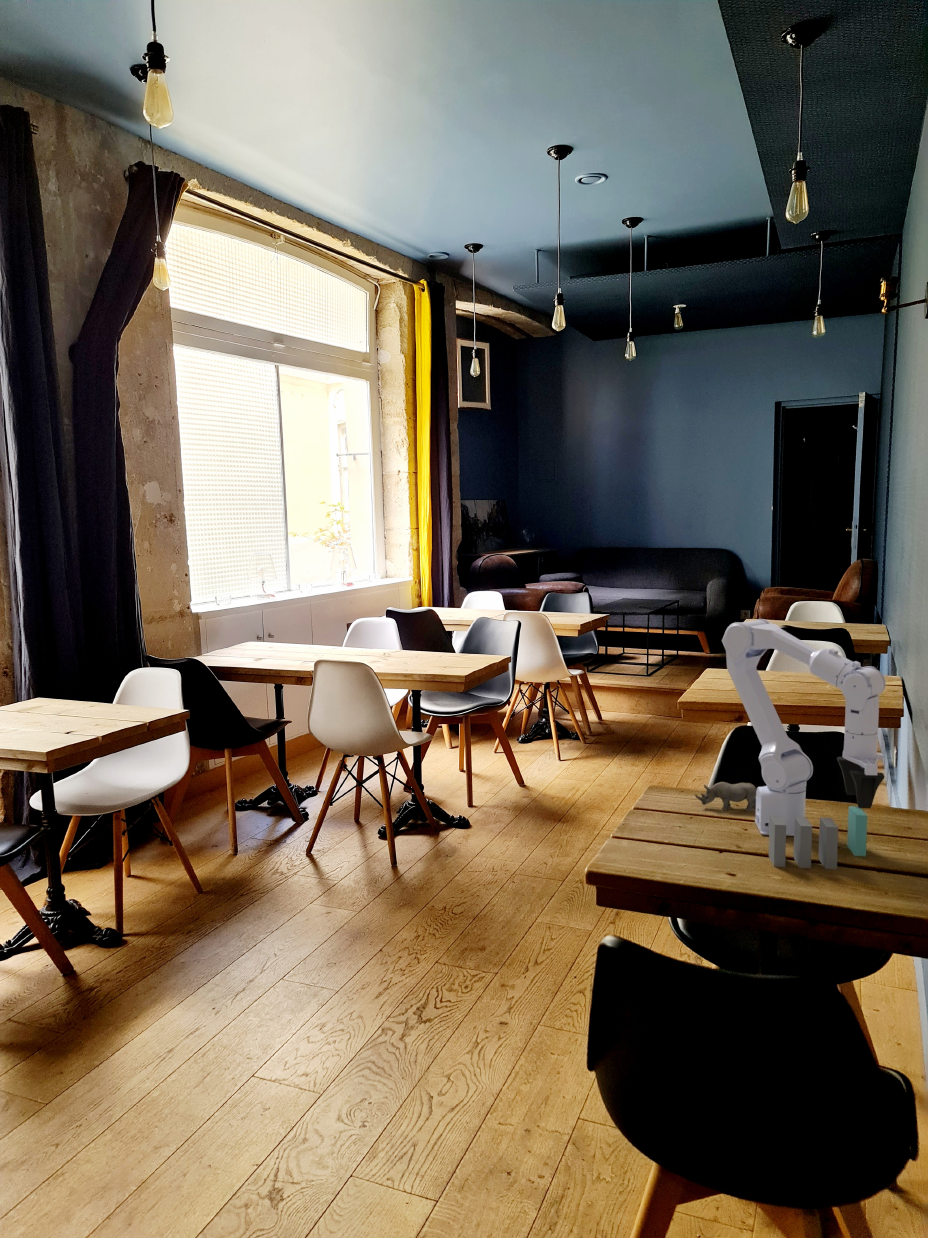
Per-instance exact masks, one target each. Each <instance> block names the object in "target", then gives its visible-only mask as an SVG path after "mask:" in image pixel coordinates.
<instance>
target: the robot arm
mask: <svg viewBox="0 0 928 1238" xmlns="http://www.w3.org/2000/svg"><path fill="white" fill-rule="evenodd" d="M724 631H725V632H724V635H723V637H722V639H721V642H722V644H723V647H724V650H725V657H726V669H727V672H728V674H729V676H730V679H731V681H732V683H733V685H734V688H735V689H736V691H737V694H738V696H739V699H740V701H741V702H742V705H743V707H744V710H745V712H746V713H747V717H748V719H749V720H750V722H751V724H752V725H751V726H753V729H754V732H755V734H756V735H757V739H758V740H759V743H760V745H761V751H760V753H759V756H758V761H759V763H760V766H761V767H760V768H761V777H762V779H763V781H764V783H765V784H766V785H763V786H758V787H757V788H756V789H757V791H756V797H755V798H756V809H755V817H754V818H755V819H754V822H755V825H756V827H757V828H758V830H759V833H760V835H763V836H764V835H765V836H769V821H770V816H781V817H782V819H783V821H784V822H785V824H786V837H787V836H789V837H794V822H795V816H796V817H806V793H807V792H806V791H807V781H808V780H810V779H811V777H812V776H813V772H814V766H813V762H812V760H811V759H810V758H809V756H807V754H805V753H804V752H803V750H802V748H801V746H800V744H799V743H797V742H796V741H794V740H793V739H791V738H790V737H789V736H788V735H787V734H788V733H787V732H786V729H785V728H784V726H783V724H782V721H781V718H780V717H779V715H778V713H777V710H776V708H775V706H774V704H773V702H772V700H771V697H770V695H769V693H768V690H767V689H766V687H765V684H764V682H763V680H762V678H761V675H760V673H759V671H758V669H757V666H758V664H759V662H760V660H761V658H762V656H764V654H765V653H766V652H767V651H768V650H769V649H770V650H771V649H773V650H775V651H778V652H781V653H782V654H785V655H786V656H789V657H791V658H793V659H795V660H797V661H799V662H801V663H804V664H805V665H807V666H808V668H809V672H810V674H812V675H813V676H815V677H817V678H819V679H820V680H822V681H824V682H826V683H827V684H830V685H832V686H834V687H835V688H837V689H839V690H840V691H841V694H842V696H843V697H844V699H845V703H844V704H845V705H844V706H845V707H844V708H845V712H844V713H845V715H844V716H845V718H844V740H843V750H842V756H837V757H836V760H837V763H838V766H839V767H840V770H841V774H842V777H843V782H844V784H843V785H844V788H845V793H846V795H848V796H855V799H856V804H857V807H859V808H861V809H868V810H869V809H872V806H873V803H874V799H875V796H876V793H877V791H878V788H879V786H880V785H881V783H882V782H883V781H884V779H885V774H884V773H883V772H878V771H879V770H878V769H879V768H878V767H879V765H878V761H879V760H884V759H885V757H884V754H882V753H879V752H878V736H879V719H880V718H879V713H880V708H879V707H880V706H879V705H880V696H879V695H881V694H883V692H884V690H885V688H886V679H885V676H884V674H883V673H882V672H881V671H880V670H878V669H877V668H876V667H875V666H872V665H871V666H867V665H866V666H863V667H862V666H861V662H859V661H857V660H855V661H853V660H850V659H849V658H846V657H844V656H842V655H840V654H839V650H838V649H836V648H834V647H833V648H825V647H824V648H822V649H819V650H818V649H816V648H814V647H812V646H810V644H807V643H806V642H804V641H803V640H801V639H799V638H797V637H796V636H794V635H792V634H791V633H789V632H787V631H786V630H784V629H782V628H781V627H780V626H779V625H778V624H775V623H773V622H770V621H768V620H767V619H765V618H764V619H763V618H758V619H754V620H749V621H743V622H738V621H737V622H736V621H735V622H733V623H731V624H729V626H727V628H726V630H724Z"/></svg>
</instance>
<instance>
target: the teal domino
mask: <svg viewBox="0 0 928 1238" xmlns="http://www.w3.org/2000/svg"><path fill="white" fill-rule="evenodd" d="M867 832H868V815H867V813H866V812H865V811H864V810H863V808H859V807H858V806H852V805H850V806H849V805H848V818H847V840H846V844H847V845H846V846H847V848H848V849H849V850H850V851H851V853H852V855H854V857H867V835H868V833H867Z"/></svg>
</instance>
